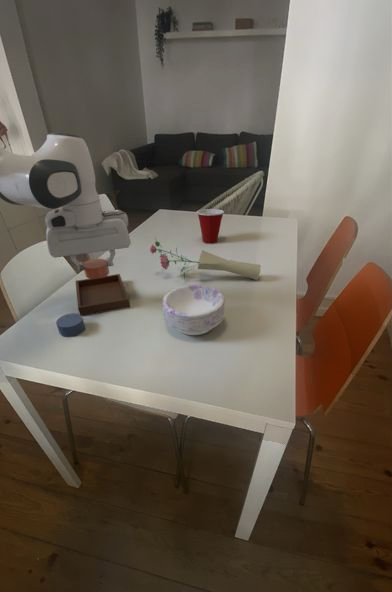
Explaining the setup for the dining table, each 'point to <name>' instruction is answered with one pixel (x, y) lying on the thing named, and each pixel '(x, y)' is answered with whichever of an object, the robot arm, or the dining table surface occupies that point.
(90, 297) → the tray
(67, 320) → the blue short cylinder
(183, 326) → the paper bowls
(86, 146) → the robot arm
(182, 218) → the dining table surface
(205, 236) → the plastic cup
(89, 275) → the orange short cylinder
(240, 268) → the flower vase
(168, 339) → the dining table surface
